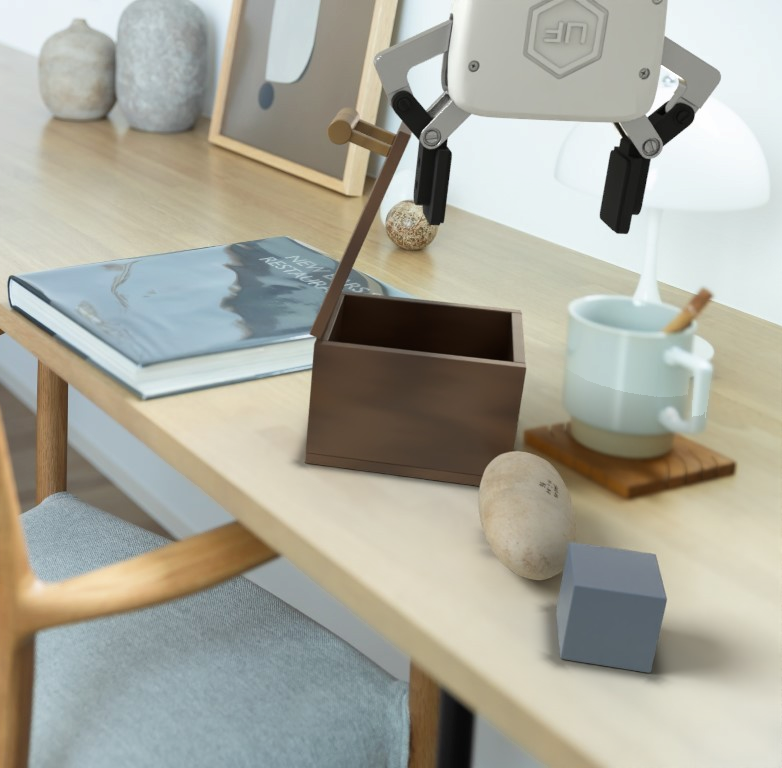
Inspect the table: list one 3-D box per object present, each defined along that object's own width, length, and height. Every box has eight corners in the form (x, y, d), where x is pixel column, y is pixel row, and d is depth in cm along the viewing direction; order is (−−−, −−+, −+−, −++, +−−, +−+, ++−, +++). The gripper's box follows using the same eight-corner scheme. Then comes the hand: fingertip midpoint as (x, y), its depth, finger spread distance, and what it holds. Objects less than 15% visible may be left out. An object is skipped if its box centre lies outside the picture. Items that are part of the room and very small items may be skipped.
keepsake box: (505, 419, 88) (522, 309, 85) (507, 490, 78) (526, 367, 74) (326, 397, 91) (335, 290, 87) (304, 463, 80) (314, 343, 77)
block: (640, 624, 64) (656, 553, 62) (650, 673, 60) (667, 599, 58) (555, 611, 65) (568, 541, 63) (559, 659, 61) (573, 585, 59)
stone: (559, 462, 76) (627, 501, 64) (520, 550, 76) (581, 606, 64) (477, 429, 75) (531, 463, 64) (439, 518, 76) (484, 568, 64)
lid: (421, 104, 81) (355, 76, 81) (411, 135, 70) (335, 103, 71) (340, 286, 87) (279, 259, 87) (320, 339, 77) (250, 309, 77)
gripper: (402, -135, 52) (367, 235, 59) (790, -119, 52) (710, 250, 59) (384, -133, 59) (354, 198, 66) (726, -119, 59) (662, 212, 66)
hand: (522, 223), depth 62 cm, fingers open, 9 cm apart
